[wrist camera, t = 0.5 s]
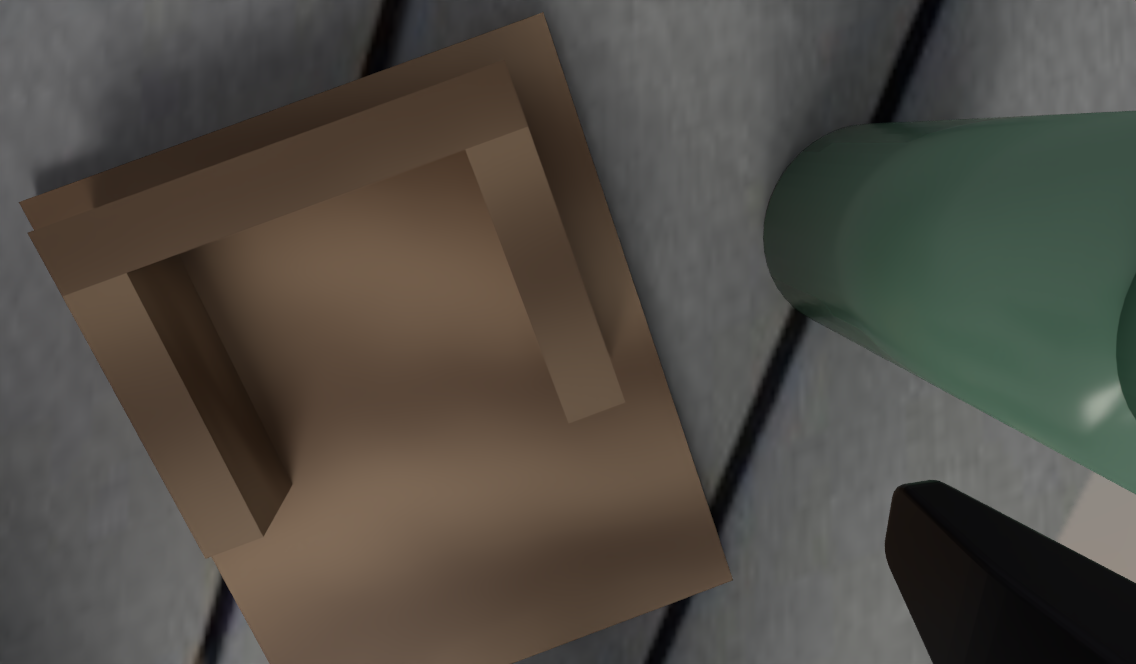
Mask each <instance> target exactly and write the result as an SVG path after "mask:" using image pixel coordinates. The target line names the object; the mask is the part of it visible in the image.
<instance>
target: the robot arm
mask: <svg viewBox="0 0 1136 664" xmlns="http://www.w3.org/2000/svg"><path fill="white" fill-rule="evenodd" d="M885 554H886V559H887V562H888V565H889V568H890V570H891V572H892V574H893V577H894V579H895V581H896V583H897V585H898V588H899V590H900V592H901V594H902V596H903V599H904V601H905V603H906V605H907V607H908V610H909V612H910V614H911V616H912V618H913V621H914V623H915V625H916V627H917V629H918V632H919V634H920V636H921V638H922V640H923V643H924V645H925V647H926V649H927V651H928V654H929V656H930V658H931V660H932V662H933V664H1136V583H1134V582H1132V581H1130V580H1128V579H1127V578H1125V577H1123V576H1121V575H1119V574H1117V573H1115V572H1113V571H1111V570H1109V569H1108V568H1106V567H1104V566H1102V565H1100V564H1098V563H1096V562H1094V561H1092V560H1090V559H1088V558H1087V557H1085V556H1083V555H1081V554H1078V553H1077V552H1075V551H1073V550H1071V549H1069V548H1067V547H1066V546H1064V545H1062V544H1060V543H1058V542H1056V541H1054V540H1052V539H1050V538H1048V537H1046V536H1045V535H1043V534H1041V533H1039V532H1037V531H1035V530H1033V529H1031V528H1029V527H1027V526H1025V525H1023V524H1022V523H1020V522H1018V521H1016V520H1014V519H1012V518H1010V517H1008V516H1006V515H1004V514H1002V513H1001V512H999V511H997V510H995V509H993V508H991V507H989V506H987V505H985V504H983V503H981V502H980V501H978V500H976V499H974V498H972V497H970V496H968V495H966V494H964V493H962V492H960V491H959V490H957V489H955V488H953V487H951V486H949V485H947V484H945V483H943V482H940V481H937V480H927V481H921V482H914V483H908V484H903V485H900V486H898V487H897V488H896V490H895V491H894V493H893V497H892V502H891V508H890V514H889V520H888V526H887V532H886V538H885Z"/></svg>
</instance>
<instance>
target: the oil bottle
mask: <svg viewBox="0 0 1136 664" xmlns="http://www.w3.org/2000/svg"><path fill="white" fill-rule="evenodd" d="M763 240H764V252H765V257H766V262H767V266H768V268H769V271H770V274H771V277H772V279H773V280H774V282H775V284H776V286H777V288H778V289H779V291H780V292H781V294H782V295H783V296H784V298H785V299H786V300H787V301H788V302H789V303H790V304H791V305H792V306H793V307H794V308H795V309H797V310H798V311H799V312H801V313H802V314H803V315H805V316H807V317H809V318H810V319H812V320H814V321H816V322H818V323H820V324H821V325H823V326H825V327H827V328H829V329H831V330H832V331H834V332H836V333H838V334H840V335H842V336H844V337H845V338H847V339H849V340H851V341H853V342H855V343H857V344H858V345H860V346H862V347H864V348H866V349H868V350H869V351H871V352H873V353H875V354H877V355H879V356H881V357H882V358H884V359H886V360H888V361H890V362H892V363H894V364H895V365H897V366H899V367H901V368H903V369H905V370H907V371H908V372H910V373H912V374H914V375H916V376H918V377H919V378H921V379H923V380H925V381H927V382H929V383H931V384H932V385H934V386H936V387H938V388H940V389H942V390H944V391H945V392H947V393H949V394H951V395H953V396H955V397H956V398H958V399H960V400H962V401H964V402H966V403H968V404H969V405H971V406H973V407H975V408H977V409H979V410H981V411H982V412H984V413H986V414H988V415H990V416H992V417H993V418H995V419H997V420H999V421H1001V422H1003V423H1005V424H1006V425H1008V426H1010V427H1012V428H1014V429H1016V430H1018V431H1019V432H1021V433H1023V434H1025V435H1027V436H1029V437H1031V438H1032V439H1034V440H1036V441H1038V442H1040V443H1042V444H1043V445H1045V446H1047V447H1049V448H1051V449H1053V450H1055V451H1056V452H1058V453H1060V454H1062V455H1064V456H1066V457H1068V458H1069V459H1071V460H1073V461H1075V462H1077V463H1079V464H1080V465H1082V466H1084V467H1086V468H1088V469H1090V470H1092V471H1093V472H1095V473H1097V474H1099V475H1101V476H1103V477H1105V478H1106V479H1108V480H1110V481H1112V482H1114V483H1116V484H1118V485H1119V486H1121V487H1123V488H1125V489H1127V490H1129V491H1131V492H1132V493H1134V494H1136V111H1122V112H1101V113H1080V114H1060V115H1039V116H1018V117H998V118H977V119H957V120H936V121H915V122H895V123H874V124H861V125H854V126H849V127H846V128H842V129H839V130H836V131H834V132H832V133H830V134H827V135H825V136H823V137H822V138H820V139H819V140H817V141H815V142H814V143H812V144H811V145H810V146H808V147H807V148H806V149H805V150H803V151H802V152H801V153H800V154H799V155H798V156H797V157H796V158H795V159H794V160H793V161H792V163H791V164H790V165H789V166H788V168H787V169H786V170H785V172H784V173H783V175H782V176H781V178H780V180H779V181H778V183H777V185H776V187H775V189H774V191H773V194H772V196H771V198H770V201H769V205H768V208H767V211H766V217H765V222H764V236H763Z"/></svg>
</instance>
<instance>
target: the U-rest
mask: <svg viewBox="0 0 1136 664" xmlns="http://www.w3.org/2000/svg"><path fill="white" fill-rule="evenodd" d="M19 203H20V205H21V207H22V209H23V211H24V213H25V214H26V216H27V218H28V220H29V222H30V224H31V226H32V227H33V229H34V231H31V232H28V235H29V236H30V238H31V240H32V242H33V244H34V246H35V247H36V249H37V251H38V253H39V255H40V257H41V258H42V260H43V262H44V264H45V266H46V268H47V269H48V271H49V273H50V275H51V277H52V278H53V280H54V282H55V284H56V286H57V288H58V289H59V291H60V293H61V295H62V297H63V299H64V300H65V302H66V304H67V306H68V308H69V310H70V311H71V313H72V315H73V317H74V319H75V321H76V322H77V324H78V326H79V328H80V330H81V332H82V333H83V335H84V337H85V339H86V341H87V343H88V344H89V346H90V348H91V350H92V352H93V354H94V355H95V357H96V359H97V361H98V363H99V365H100V366H101V368H102V370H103V372H104V374H105V375H106V377H107V379H108V381H109V383H110V385H111V386H112V388H113V390H114V392H115V394H116V396H117V397H118V399H119V401H120V403H121V405H122V407H123V408H124V410H125V412H126V414H127V416H128V418H129V419H130V421H131V423H132V425H133V427H134V429H135V430H136V432H137V434H138V436H139V438H140V440H141V441H142V443H143V445H144V447H145V449H146V451H147V452H148V454H149V456H150V458H151V460H152V462H153V463H154V465H155V467H156V469H157V471H158V472H159V474H160V476H161V478H162V480H163V482H164V483H165V485H166V487H167V489H168V491H169V493H170V494H171V496H172V498H173V500H174V502H175V504H176V505H177V507H178V509H179V511H180V513H181V515H182V516H183V518H184V520H185V522H186V524H187V526H188V527H189V529H190V531H191V533H192V535H193V537H194V538H195V540H196V542H197V544H198V546H199V548H200V549H201V551H202V553H203V555H204V557H205V559H206V558H209V557H212V559H213V560H214V562H215V564H216V566H217V568H218V570H219V571H220V573H221V575H222V577H223V579H224V581H225V582H226V584H227V586H228V588H229V590H230V592H231V594H232V595H233V597H234V599H235V601H236V603H237V605H238V606H239V608H240V610H241V612H242V614H243V616H244V617H245V619H246V621H247V623H248V625H249V627H250V628H251V630H252V632H253V634H254V636H255V638H256V640H257V641H258V643H259V645H260V647H261V649H262V651H263V652H264V654H265V656H266V658H267V660H268V662H269V663H270V664H512V663H515V662H518V661H520V660H523V659H526V658H528V657H531V656H533V655H536V654H539V653H541V652H544V651H547V650H549V649H552V648H555V647H557V646H560V645H563V644H565V643H568V642H571V641H573V640H576V639H579V638H581V637H584V636H587V635H589V634H592V633H594V632H597V631H600V630H602V629H605V628H608V627H610V626H613V625H616V624H618V623H621V622H624V621H626V620H629V619H632V618H634V617H637V616H640V615H642V614H645V613H647V612H650V611H653V610H655V609H658V608H661V607H663V606H666V605H669V604H671V603H674V602H677V601H679V600H682V599H685V598H687V597H690V596H693V595H695V594H698V593H700V592H703V591H706V590H708V589H711V588H714V587H716V586H719V585H722V584H724V583H727V582H730V581H732V580H733V579H732V576H731V573H730V570H729V567H728V564H727V561H726V558H725V555H724V552H723V549H722V546H721V543H720V540H719V537H718V534H717V531H716V528H715V525H714V522H713V519H712V516H711V513H710V510H709V507H708V504H707V501H706V498H705V495H704V492H703V489H702V486H701V483H700V480H699V477H698V474H697V471H696V468H695V465H694V462H693V459H692V456H691V453H690V450H689V447H688V444H687V441H686V438H685V435H684V432H683V429H682V426H681V423H680V420H679V417H678V414H677V411H676V408H675V405H674V402H673V399H672V396H671V393H670V390H669V387H668V384H667V381H666V378H665V375H664V372H663V369H662V366H661V363H660V360H659V357H658V354H657V351H656V348H655V345H654V342H653V339H652V336H651V334H650V331H649V328H648V325H647V322H646V319H645V316H644V313H643V310H642V307H641V304H640V301H639V298H638V295H637V292H636V289H635V286H634V283H633V280H632V277H631V274H630V271H629V268H628V265H627V262H626V259H625V256H624V253H623V250H622V247H621V244H620V241H619V238H618V235H617V232H616V229H615V226H614V223H613V220H612V217H611V214H610V211H609V208H608V205H607V202H606V199H605V196H604V193H603V190H602V187H601V184H600V181H599V178H598V175H597V172H596V169H595V166H594V163H593V160H592V157H591V154H590V151H589V148H588V145H587V142H586V139H585V136H584V133H583V130H582V127H581V124H580V121H579V118H578V115H577V112H576V109H575V106H574V103H573V100H572V97H571V94H570V91H569V88H568V85H567V82H566V79H565V76H564V73H563V70H562V67H561V64H560V61H559V58H558V55H557V52H556V49H555V46H554V43H553V40H552V37H551V34H550V31H549V28H548V25H547V22H546V19H545V16H544V13H540V14H537V15H534V16H532V17H529V18H526V19H523V20H521V21H518V22H515V23H512V24H509V25H507V26H504V27H501V28H498V29H496V30H493V31H490V32H487V33H485V34H482V35H479V36H476V37H474V38H471V39H468V40H465V41H463V42H460V43H457V44H454V45H452V46H449V47H446V48H443V49H440V50H438V51H435V52H432V53H429V54H427V55H424V56H421V57H418V58H416V59H413V60H410V61H407V62H405V63H402V64H399V65H396V66H394V67H391V68H388V69H385V70H383V71H380V72H377V73H374V74H372V75H369V76H366V77H363V78H360V79H358V80H355V81H352V82H349V83H347V84H344V85H341V86H338V87H336V88H333V89H330V90H327V91H325V92H322V93H319V94H316V95H314V96H311V97H308V98H305V99H303V100H300V101H297V102H294V103H291V104H289V105H286V106H283V107H280V108H278V109H275V110H272V111H269V112H267V113H264V114H261V115H258V116H256V117H253V118H250V119H247V120H245V121H242V122H239V123H236V124H234V125H231V126H228V127H225V128H222V129H220V130H217V131H214V132H211V133H209V134H206V135H203V136H200V137H198V138H195V139H192V140H189V141H187V142H184V143H181V144H178V145H176V146H173V147H170V148H167V149H165V150H162V151H159V152H156V153H154V154H151V155H148V156H145V157H142V158H140V159H137V160H134V161H131V162H129V163H126V164H123V165H120V166H118V167H115V168H112V169H109V170H107V171H104V172H101V173H98V174H96V175H93V176H90V177H87V178H85V179H82V180H79V181H76V182H73V183H71V184H68V185H65V186H62V187H60V188H57V189H54V190H51V191H49V192H46V193H43V194H40V195H38V196H35V197H32V198H29V199H27V200H24V201H21V202H19Z"/></svg>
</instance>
